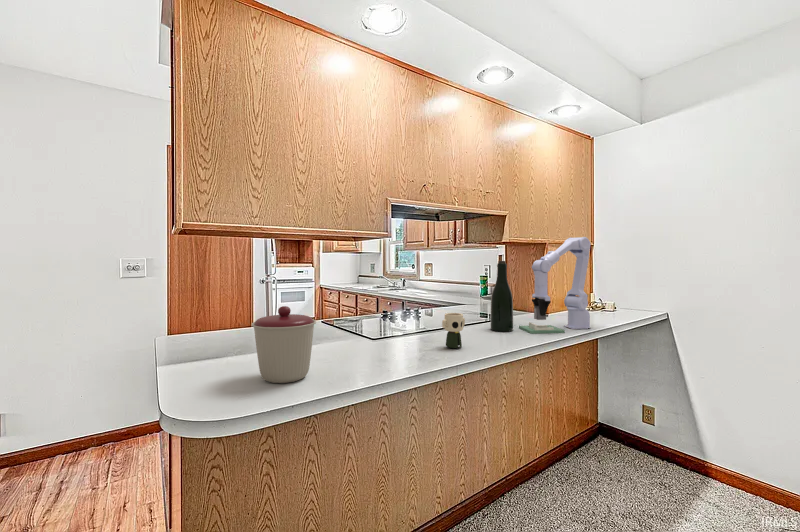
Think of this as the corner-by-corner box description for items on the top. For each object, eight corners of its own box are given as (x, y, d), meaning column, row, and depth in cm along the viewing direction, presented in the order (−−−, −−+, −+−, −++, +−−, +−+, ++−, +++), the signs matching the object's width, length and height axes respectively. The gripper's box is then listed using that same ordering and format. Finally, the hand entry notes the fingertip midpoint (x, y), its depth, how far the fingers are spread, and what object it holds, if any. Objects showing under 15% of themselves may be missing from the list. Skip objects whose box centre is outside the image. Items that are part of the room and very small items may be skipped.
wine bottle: (486, 329, 198) (486, 260, 197) (505, 327, 201) (505, 260, 200) (497, 332, 188) (498, 260, 187) (517, 331, 191) (517, 260, 190)
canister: (292, 366, 132) (291, 301, 132) (329, 376, 121) (328, 305, 120) (239, 379, 118) (238, 306, 118) (276, 392, 107) (275, 312, 106)
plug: (545, 318, 193) (545, 305, 193) (549, 319, 189) (549, 306, 189) (533, 318, 193) (533, 305, 192) (536, 319, 189) (536, 306, 188)
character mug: (448, 351, 152) (448, 316, 152) (436, 347, 158) (436, 314, 158) (470, 347, 158) (470, 314, 158) (458, 344, 164) (458, 311, 164)
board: (550, 327, 201) (550, 320, 201) (564, 332, 187) (564, 324, 187) (518, 328, 199) (518, 320, 199) (530, 333, 185) (530, 325, 185)
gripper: (526, 284, 197) (526, 312, 198) (539, 287, 183) (539, 317, 183) (540, 284, 198) (540, 312, 198) (554, 286, 184) (554, 317, 184)
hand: (540, 314), depth 191 cm, fingers closed on plug, 4 cm apart
